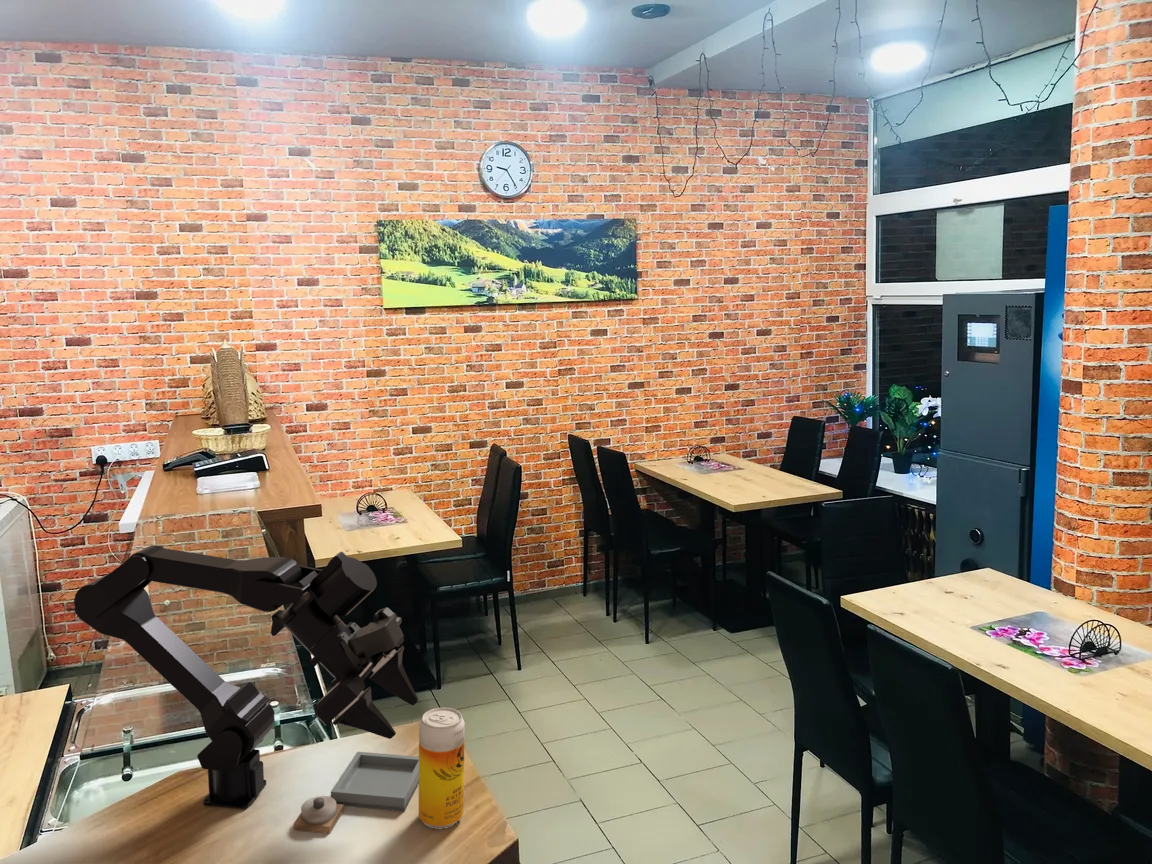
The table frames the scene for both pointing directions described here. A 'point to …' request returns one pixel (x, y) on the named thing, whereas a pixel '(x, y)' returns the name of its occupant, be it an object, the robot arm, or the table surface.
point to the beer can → (441, 767)
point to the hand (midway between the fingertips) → (405, 719)
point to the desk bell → (318, 815)
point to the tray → (378, 781)
